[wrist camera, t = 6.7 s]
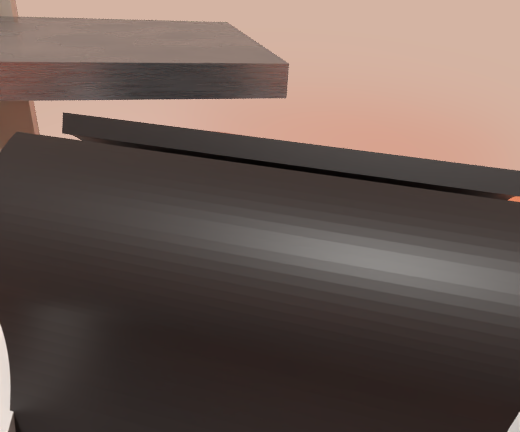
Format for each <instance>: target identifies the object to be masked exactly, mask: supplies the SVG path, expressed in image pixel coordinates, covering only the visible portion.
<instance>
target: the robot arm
mask: <svg viewBox="0 0 520 432" xmlns="http://www.w3.org/2000/svg"><path fill="white" fill-rule="evenodd" d="M0 432H16V431H15V421H14V412H13V411H10V368H9V359H8V352H7V347H6V342H5V338H4V335H3V331H2V328H1V325H0ZM507 432H520V412H519V414H518V415H517V417H516V419H515V420H514V422H513V423H512V425H511V426H510V428H509V430H508V431H507Z"/></svg>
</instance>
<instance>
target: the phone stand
mask: <svg viewBox="0 0 520 432" xmlns="http://www.w3.org/2000/svg"><path fill="white" fill-rule="evenodd" d="M62 133H65V134H70V135H73V136H75V137H77V138H79V139H80V140H82V141H79V140H72V139H66V138H58V137H51V136H43V135H37V134H30V133H23V132H16V133H15V134H14V135H13V136H12V137H11V138H10V139H9V141H8V142H7V143H6V144H5V146H4V147H3V148H2V150H1V151H0V325H1V328H2V331H3V335H4V338H5V342H6V347H7V352H8V359H9V368H10V411H13V412H14V421H15V431H16V432H507V431H508V430H509V428H510V426H511V425H512V423H513V422H514V420H515V419H516V417H517V415H518V414H519V412H520V202H514V201H507V200H508V199H510V198H512V197H514V196H520V171H516V170H507V169H500V168H492V167H485V166H477V165H469V164H461V163H452V162H446V161H437V160H430V159H422V158H414V157H407V156H398V155H391V154H383V153H375V152H367V151H359V150H352V149H344V148H336V147H328V146H321V145H313V144H305V143H297V142H289V141H282V140H274V139H266V138H258V137H250V136H242V135H235V134H227V133H219V132H211V131H203V130H196V129H188V128H180V127H172V126H164V125H156V124H148V123H141V122H133V121H125V120H117V119H110V118H101V117H94V116H86V115H78V114H71V113H63V128H62Z"/></svg>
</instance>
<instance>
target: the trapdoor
mask: <svg viewBox="0 0 520 432" xmlns="http://www.w3.org/2000/svg"><path fill="white" fill-rule="evenodd" d="M288 66H289V64H288V63H287V62H286V61H284V60H283V59H281V58H280V57H278V56H277V55H275V54H274V53H272V52H271V51H269V50H268V49H266V48H265V47H263V46H262V45H260V44H259V43H257V42H256V41H254V40H253V39H251V38H250V37H248V36H247V35H245V34H244V33H242V32H241V31H239V30H238V29H236V28H235V27H233V26H232V25H230V24H229V23H227V22H198V21H196V22H194V21H158V20H122V19H83V18H45V17H8V16H0V101H35V100H133V99H137V100H138V99H233V98H234V99H235V98H237V99H238V98H286V95H287V81H288V68H289V67H288Z"/></svg>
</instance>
